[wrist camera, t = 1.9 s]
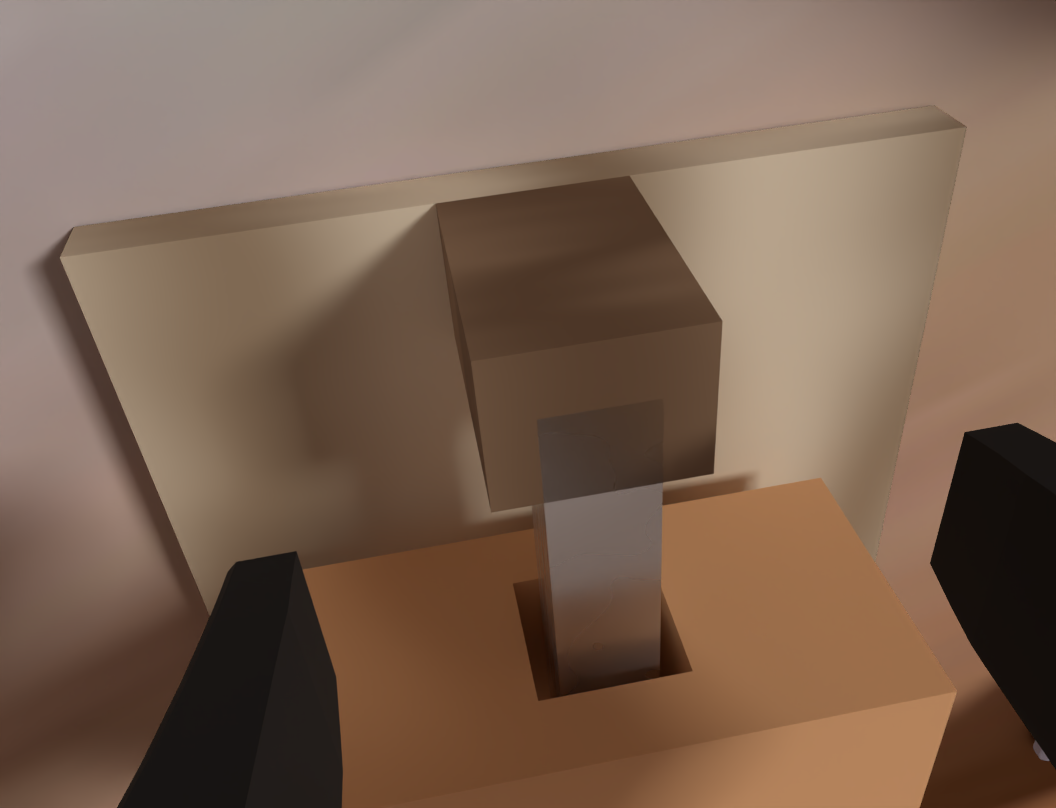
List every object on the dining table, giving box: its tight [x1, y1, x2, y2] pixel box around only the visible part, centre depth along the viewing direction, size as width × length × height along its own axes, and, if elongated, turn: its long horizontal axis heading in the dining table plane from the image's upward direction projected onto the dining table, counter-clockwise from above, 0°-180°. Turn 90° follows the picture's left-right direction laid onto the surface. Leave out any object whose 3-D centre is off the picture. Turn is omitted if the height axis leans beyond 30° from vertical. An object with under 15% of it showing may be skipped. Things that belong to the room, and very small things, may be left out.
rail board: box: [60, 106, 967, 615], centre depth 20 cm, size 14×24×5 cm, turn 4°
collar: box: [303, 478, 957, 808], centre depth 17 cm, size 10×4×5 cm, turn 94°
